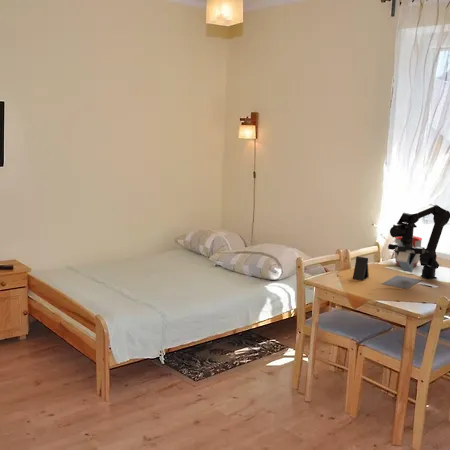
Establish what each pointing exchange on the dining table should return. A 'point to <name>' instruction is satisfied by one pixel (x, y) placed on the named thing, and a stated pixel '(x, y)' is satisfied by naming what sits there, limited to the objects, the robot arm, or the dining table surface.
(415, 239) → the citrus juicer
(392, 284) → the rubber mat
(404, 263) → the tall block
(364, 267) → the black picture frame
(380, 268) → the dining table surface
